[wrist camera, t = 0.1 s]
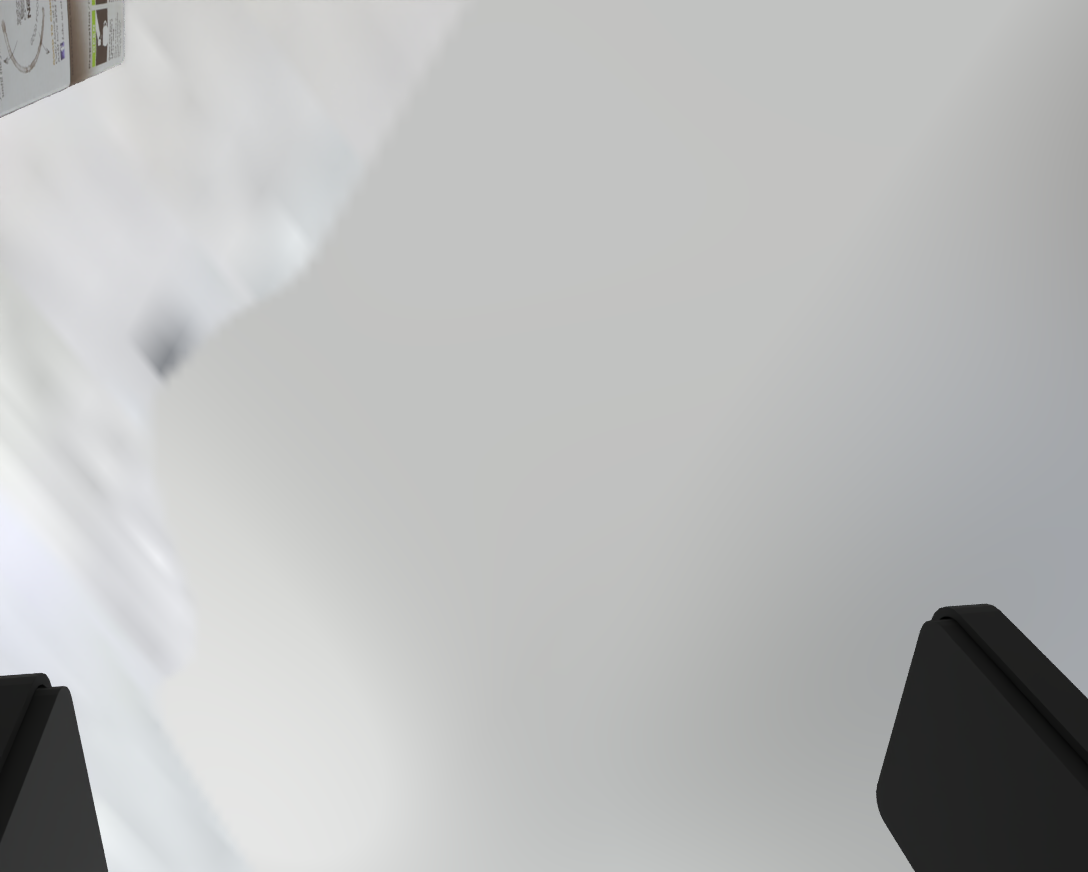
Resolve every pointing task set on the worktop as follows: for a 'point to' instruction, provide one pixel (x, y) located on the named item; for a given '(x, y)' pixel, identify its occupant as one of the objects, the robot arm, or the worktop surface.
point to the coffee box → (55, 46)
